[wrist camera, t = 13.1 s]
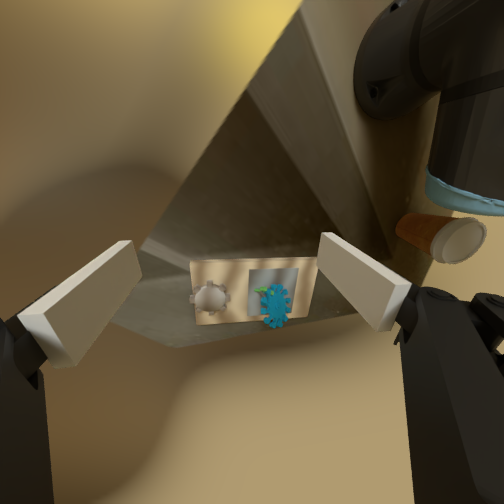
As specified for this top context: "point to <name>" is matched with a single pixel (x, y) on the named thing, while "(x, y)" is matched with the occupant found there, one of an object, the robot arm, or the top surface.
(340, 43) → the top surface
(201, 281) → the carrier board
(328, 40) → the top surface
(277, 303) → the gear
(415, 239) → the disposable coffee cup
